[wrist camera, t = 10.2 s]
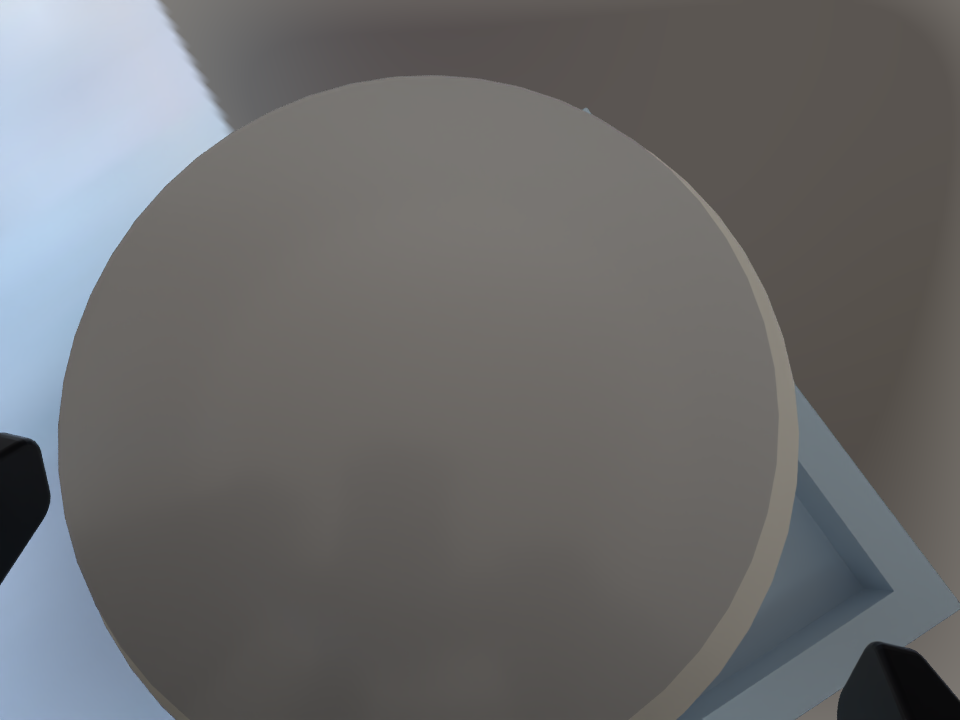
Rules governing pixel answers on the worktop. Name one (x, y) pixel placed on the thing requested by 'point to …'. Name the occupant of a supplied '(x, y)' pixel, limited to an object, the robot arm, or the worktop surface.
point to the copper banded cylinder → (428, 420)
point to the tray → (826, 591)
